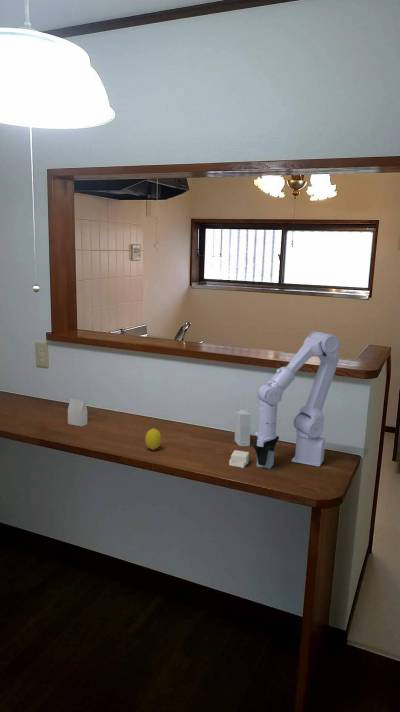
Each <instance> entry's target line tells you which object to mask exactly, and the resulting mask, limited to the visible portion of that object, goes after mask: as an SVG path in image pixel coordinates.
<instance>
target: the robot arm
mask: <svg viewBox="0 0 400 712" xmlns="http://www.w3.org/2000/svg"><path fill="white" fill-rule="evenodd" d="M341 344H342V343H341V342H340V340H339V339H338V337H337V336H336V335H335V334H331V333H326V332H322V331H320V330H319V331H318V330H313V331H311V332H310V333H309V335H308V336H307V337H306V338H305V339H304V342H303V344H302V346H301V347H300V349H298V351H297V352H296V354H295V355H294V356H293V358H291V360H290V361H289V362H288V363H287V365H286V366H281V367H280V368H277V369H276V372H275V373H274V374H273V376H272V377H271V378H270V379H269V380H268V381H266V383H265V384H262V385H261V386H260V387H259V389H258V391H257V392H256V397H257V398H258V400H259V409H258V410H259V413H258V414H259V415H258V431H255V432H254V436H257V440H256V441H255V442H254V443H253V445H252V446H253V448H254V451H255V453H256V460H257V459H258V464H259V465H263V466H265V464H266V461H267V455H268V452H269V451H274V452H275V447H276V445H277V443H278V441H279V440H280V437H279V435H277V421H278V420H277V418H278V404H279V403H280V402H281V401H282V398H283V394H284V392H285V391H286V389H287V388H288V387H289V386H290V385H291V384H292V383H293V382H294V380H295V379H296V373H297V371H299V370H300V368H302V367H303V366H304V364H306V363H307V362H308V361H309V359H310V358H311V357H315V356H317V357H318V359H319V361H320V363H319V367H318V369H317V371H316V375H315V377H314V380H313V383H312V386H311V389H310V391H309V395H308V397H307V399H306V400H307V401H306V404H305V405H304V406H302V407H300V409H299V411H298V413H297V414H296V416H295V417H294V419H293V427H294V429H296V430H295V431H296V438H295V439H296V440H295V441H296V442H295V454H294V456H293V458H292V459H291V462H292V463H298V464H304V465H309V466H312V467H313V466H315V467H321V465H322V463H323V461H324V458H325V448H326V447H325V446H326V438H324V437H321V435H322V434H323V432H324V423H325V420H326V419H325V416H324V413H323V408H324V405H325V403H326V399H327V396H328V394H329V390H330V387H331V384H332V381H333V379H334V376H335V373H336V371H337V367H338V364H339V361H340V360H339V359H340V358H339V357H340V356H339V354H340V353H339V350H340V348H341Z"/></svg>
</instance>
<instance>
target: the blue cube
mask: <svg viewBox="0 0 400 712" xmlns="http://www.w3.org/2000/svg"><path fill="white" fill-rule="evenodd" d="M274 459H275V450H274V451H269V452H268V455H267V461H266V464H265V466H263V465H259V464H258V459H257V458H256V467H259V468H263V469H268V470H270V469H272V466H274V462H275V461H274Z"/></svg>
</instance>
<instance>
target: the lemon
mask: <svg viewBox="0 0 400 712" xmlns="http://www.w3.org/2000/svg"><path fill="white" fill-rule="evenodd" d="M161 443H162V435H161V432H160V431H159V430H158V429H156V428H155V427H154V428H151V429H148V431H147V432H146V434H145V445H146V446H147V447H148V448H149V449H150V450H152V451H155V449H158V448H159V447H160V446H161Z"/></svg>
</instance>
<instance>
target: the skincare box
mask: <svg viewBox="0 0 400 712" xmlns="http://www.w3.org/2000/svg"><path fill="white" fill-rule="evenodd" d="M251 416H252V415H251V413H250V412H248V411H247V410H246V409H239V410H238V409H236V410H235V411H234V442H235V443H236V444H237V445H238V446H239V447H250V445H251Z"/></svg>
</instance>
